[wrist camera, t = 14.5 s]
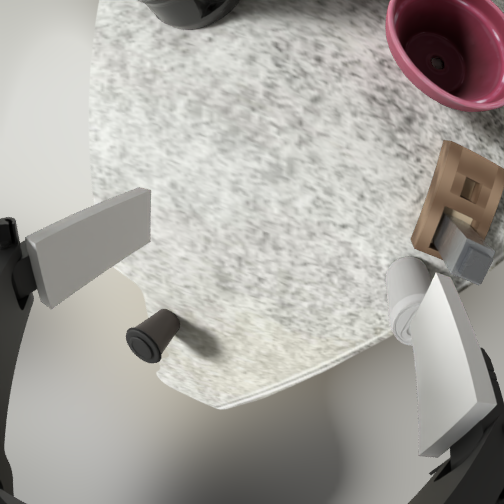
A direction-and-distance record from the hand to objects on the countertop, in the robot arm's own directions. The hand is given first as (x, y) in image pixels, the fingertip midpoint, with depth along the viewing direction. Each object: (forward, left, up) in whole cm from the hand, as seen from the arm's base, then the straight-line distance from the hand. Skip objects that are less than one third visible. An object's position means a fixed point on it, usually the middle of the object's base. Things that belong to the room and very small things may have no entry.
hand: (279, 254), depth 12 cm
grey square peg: (+2, +17, -26) cm, 31 cm away
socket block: (-2, +17, -27) cm, 32 cm away
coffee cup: (+35, -22, -27) cm, 50 cm away
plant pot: (-19, +9, -27) cm, 34 cm away
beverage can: (+10, +14, -27) cm, 32 cm away
